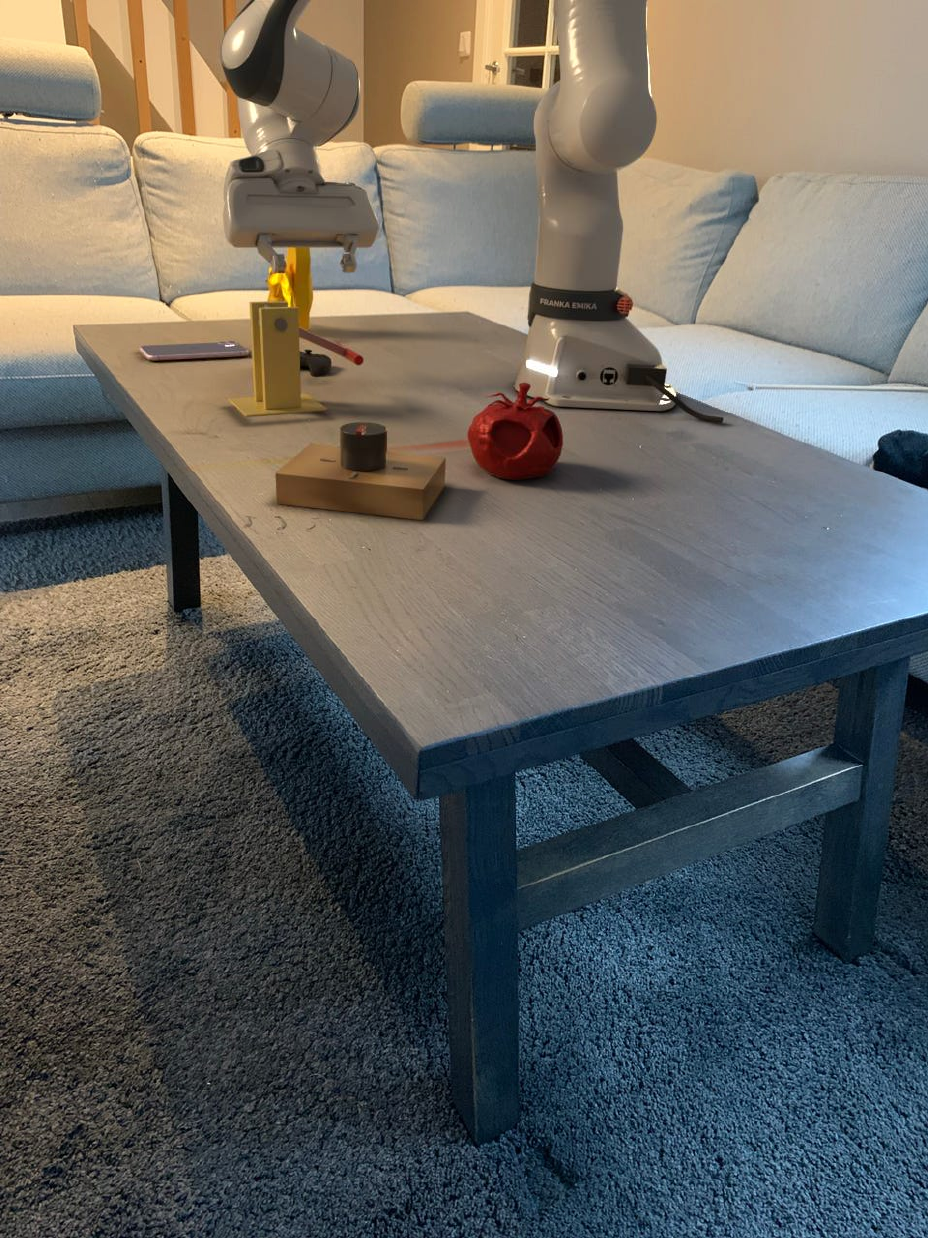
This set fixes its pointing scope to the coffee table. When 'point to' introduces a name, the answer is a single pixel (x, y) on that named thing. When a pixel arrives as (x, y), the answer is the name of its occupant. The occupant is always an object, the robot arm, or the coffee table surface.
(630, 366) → the robot arm
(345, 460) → the dial knob
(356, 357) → the lever
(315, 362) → the gaming controller
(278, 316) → the yellow upright double-plate block
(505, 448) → the red hollowed tomato
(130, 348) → the coffee table surface
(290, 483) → the knob base block
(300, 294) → the figure statuette
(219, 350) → the mobile phone
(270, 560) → the coffee table surface
